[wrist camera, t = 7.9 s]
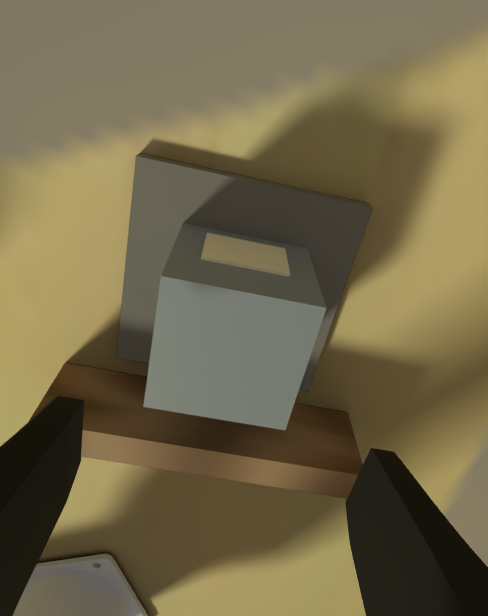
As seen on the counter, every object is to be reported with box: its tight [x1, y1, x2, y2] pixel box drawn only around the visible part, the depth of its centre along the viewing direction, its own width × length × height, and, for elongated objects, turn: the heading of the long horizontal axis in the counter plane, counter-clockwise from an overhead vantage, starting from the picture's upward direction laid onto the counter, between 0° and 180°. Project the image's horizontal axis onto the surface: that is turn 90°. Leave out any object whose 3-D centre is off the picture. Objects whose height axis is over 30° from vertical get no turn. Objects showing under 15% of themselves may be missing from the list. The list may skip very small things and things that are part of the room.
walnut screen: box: [29, 363, 363, 498], centre depth 21 cm, size 14×2×4 cm, turn 78°
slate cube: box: [143, 223, 326, 430], centre depth 17 cm, size 5×5×5 cm
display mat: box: [116, 153, 373, 392], centre depth 19 cm, size 9×9×1 cm
